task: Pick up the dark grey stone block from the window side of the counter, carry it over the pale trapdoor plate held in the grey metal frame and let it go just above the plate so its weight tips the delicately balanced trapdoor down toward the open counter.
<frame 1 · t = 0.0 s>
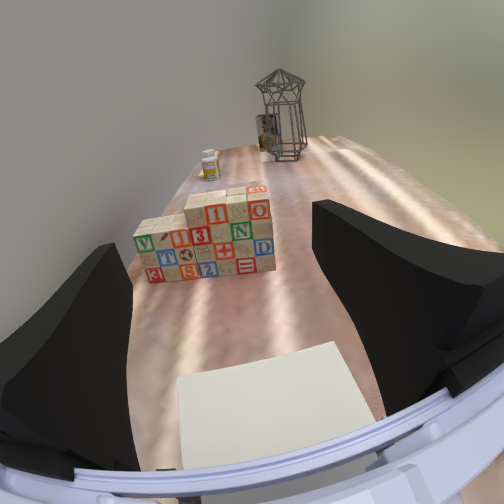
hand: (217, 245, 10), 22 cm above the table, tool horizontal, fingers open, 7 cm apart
stack of blocks: (211, 268, 49), on the table
trapdoor: (279, 445, 18), point 5 cm above the table, hinge at 0.0°
geometric lantern: (288, 159, 106), on the table
coffee box: (271, 150, 124), on the table
supplement bottle: (213, 179, 95), on the table
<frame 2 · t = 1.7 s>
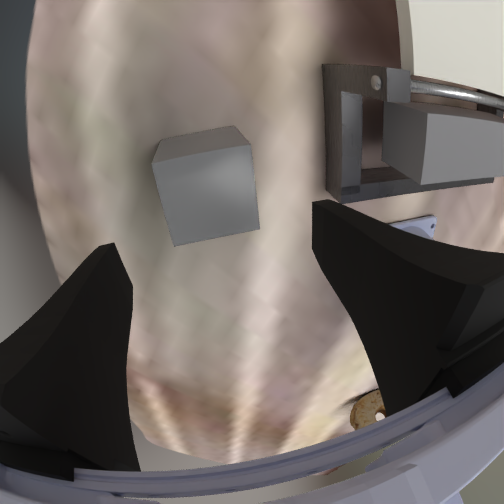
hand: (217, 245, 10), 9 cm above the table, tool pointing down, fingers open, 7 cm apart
stone block: (203, 166, 18), on the table
trapdoor: (468, 64, 11), point 4 cm above the table, hinge at 0.0°
stone disc: (369, 392, 45), on the table
frame: (425, 83, 16), on the table
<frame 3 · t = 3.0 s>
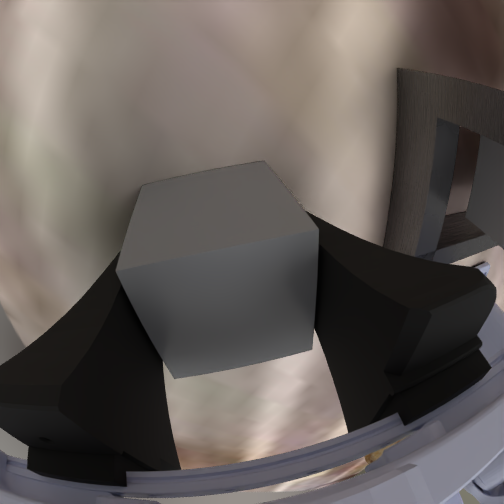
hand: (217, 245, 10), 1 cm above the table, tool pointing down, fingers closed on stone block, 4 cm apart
stone block: (213, 225, 11), on the table, touching gripper
frame: (503, 105, 10), on the table
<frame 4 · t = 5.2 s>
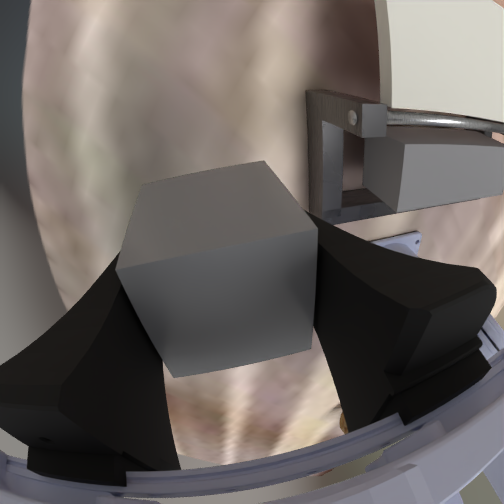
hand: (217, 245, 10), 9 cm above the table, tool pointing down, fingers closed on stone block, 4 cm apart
stone block: (212, 224, 11), point 8 cm above the table, touching gripper
trapdoor: (453, 86, 13), point 5 cm above the table, hinge at 0.0°
frame: (411, 103, 18), on the table
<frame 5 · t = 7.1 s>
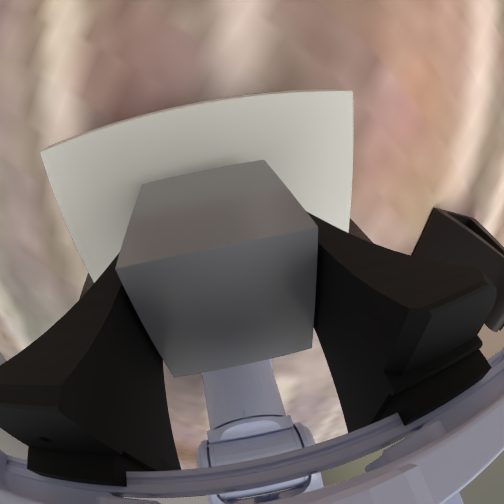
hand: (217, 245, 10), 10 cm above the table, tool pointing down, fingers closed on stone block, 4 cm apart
phone stand: (444, 235, 27), on the table
stone block: (212, 224, 11), point 8 cm above the table, touching gripper
trapdoor: (216, 236, 16), point 5 cm above the table, hinge at 0.0°
frame: (215, 228, 21), on the table
when the fingers open (9 cm above the table, at t = 7.8 s): stone block drops 5 cm and tips over, resting on trapdoor.
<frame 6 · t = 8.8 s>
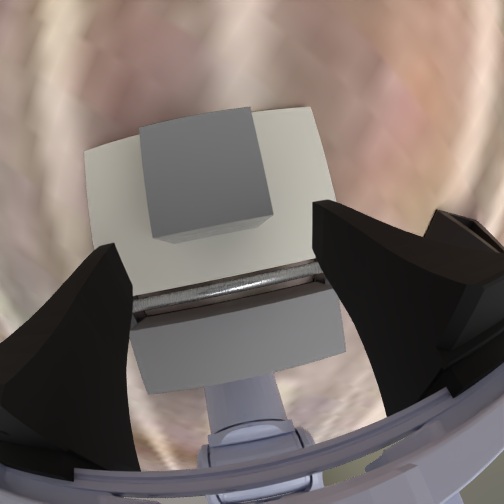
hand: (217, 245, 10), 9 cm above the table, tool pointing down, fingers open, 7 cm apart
phone stand: (446, 237, 27), on the table
stone block: (208, 194, 15), point 3 cm above the table, tilted 36°, touching trapdoor
trapdoor: (219, 249, 17), point 4 cm above the table, hinge at -35.6°, touching stone block
frame: (215, 232, 21), on the table
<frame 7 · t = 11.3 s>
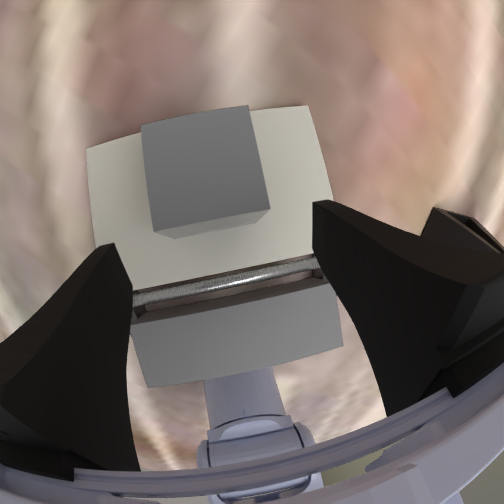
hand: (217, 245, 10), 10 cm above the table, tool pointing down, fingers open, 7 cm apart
phone stand: (444, 235, 27), on the table
stone block: (207, 190, 16), point 3 cm above the table, tilted 36°, touching trapdoor
trapdoor: (218, 245, 18), point 4 cm above the table, hinge at -35.6°, touching stone block
frame: (215, 228, 21), on the table
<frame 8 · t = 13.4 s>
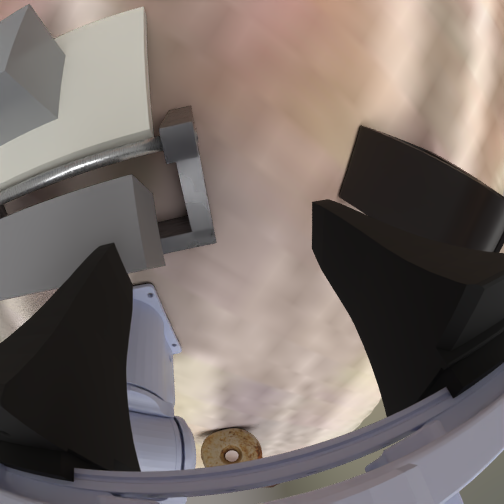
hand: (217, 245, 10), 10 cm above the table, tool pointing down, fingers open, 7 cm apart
phone stand: (389, 170, 22), on the table
stone block: (29, 99, 11), point 3 cm above the table, tilted 36°, touching trapdoor
trapdoor: (42, 156, 13), point 4 cm above the table, hinge at -35.6°, touching stone block
stone disc: (226, 429, 45), on the table
frame: (67, 152, 16), on the table
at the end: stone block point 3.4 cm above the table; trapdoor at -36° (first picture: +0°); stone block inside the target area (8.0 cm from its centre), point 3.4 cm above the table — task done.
